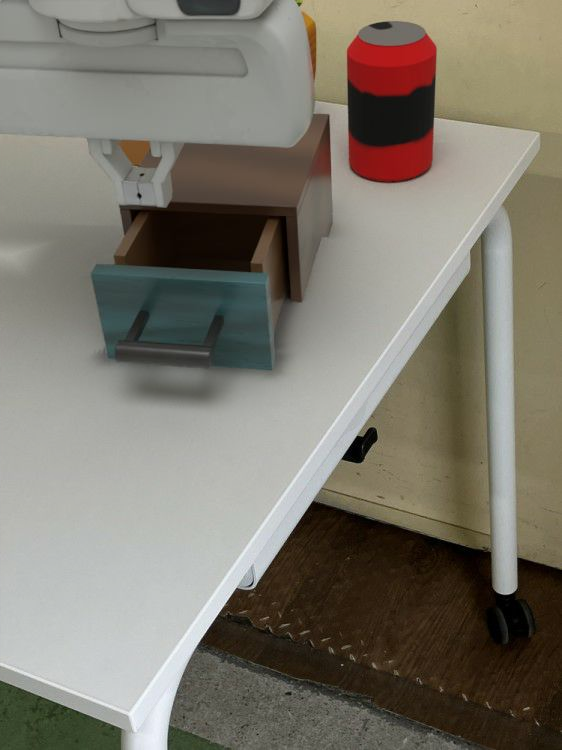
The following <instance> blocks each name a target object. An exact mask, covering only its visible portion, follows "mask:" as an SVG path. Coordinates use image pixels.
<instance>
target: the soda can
mask: <svg viewBox="0 0 562 750" xmlns="http://www.w3.org/2000/svg"><path fill="white" fill-rule="evenodd" d="M437 49H438V48H437V45H436V44H435V42H434V41H433V39H432V38H431V37H430V36H429V34H428V33H427V30H426V29H425V28H424V27H423V26H422V25H419V24H418V23H417V24H416V23H414V22H409V21H401V20H387V21H380V22H379V21H378V22H374V23H371V24H368V25H365V26H364V27H362V28H361V29H359V30H358V32H357V34H356V36H355V37H354V39H353V40H352V41H351V42H350V44H349V45H348V47H347V48H346V78H347V79H346V80H347V83H346V84H347V133H348V134H347V137H348V138H347V139H348V164H349V166H350V167H351V169H353V171H354V172H355V173H356V174H357V175H359V176H361V177H362V178H365V179H368V180H371V181H376V182H383V183H384V182H386V183H389V182H390V183H391V182H392V181H395V182H401V181H400V180H403V181H407V180H406V179H408V180H411V179H414V178H416V176H417V177H418V175H419V176H421V175H422V174H424V173H425V172H426V171H427V170H428V169H429V168H430V166H431V165H432V163H433V159H434V158H433V156H434V155H433V154H434V131H435V107H436V106H435V105H436V104H435V101H436V77H437V57H438V56H437V54H438V53H437V52H438V50H437ZM424 171H425V172H424ZM420 174H421V175H420ZM410 178H411V179H410ZM392 183H393V182H392Z"/></svg>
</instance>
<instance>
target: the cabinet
mask: <svg viewBox="0 0 562 750" xmlns="http://www.w3.org/2000/svg"><path fill="white" fill-rule="evenodd" d="M330 117H331V115H330V113H314V114H313V118H312V121H311V124H310V126H309V128H308V130H307V132H306V133H305V134H304V135H303V137H302V138H301V139H300V140H299V141H298V142H297V143H296V144H295V145H294V146H292V147H289V148H280V147H261V146H241V145H220V144H199V143H184V145H183V147H182V149H181V152H180V154H179V156H178V158H177V160H176V162H175V164H174V166H173V168H172V169H171V171H170V173H171V182H172V190H173V193H172V199H171V201H170V202H169V204H168V206H167V208H165V207H148V206H127V205H119V204H118V207H119V213H120V218H121V224H122V230H123V236H124V237H125V235H126V233H127V232H128V230H129V228H130V227H131V225H132V223H133V222H134V220H135V218H136V216H137V215H138V213H139V211H140V210H158V211H180V212H202V213H224V214H246V215H268V216H286V228H287V244H288V260H289V276H290V285H289V292H290V302H291V303H303V301H304V298H305V294H306V290H307V287H308V284H309V281H310V277H311V274H312V272H313V268H314V264H315V261H316V258H317V254H318V251H319V247H320V244H321V241H322V238H329V235H330V233H331V228H332V224H333V222H334V220H333V219H334V217H333V183H332V181H333V180H332V152H331V151H332V148H331V147H332V146H331V118H330ZM161 159H162V155H161V156H160V157H154V156H152V154H151V148H150V149H149V151H148V152H147V154H146V155H145V157H144V159H143V160H142V162H141V163H140V165H138V167H142V168H157V167H158V165H159V163H160V161H161Z"/></svg>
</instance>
